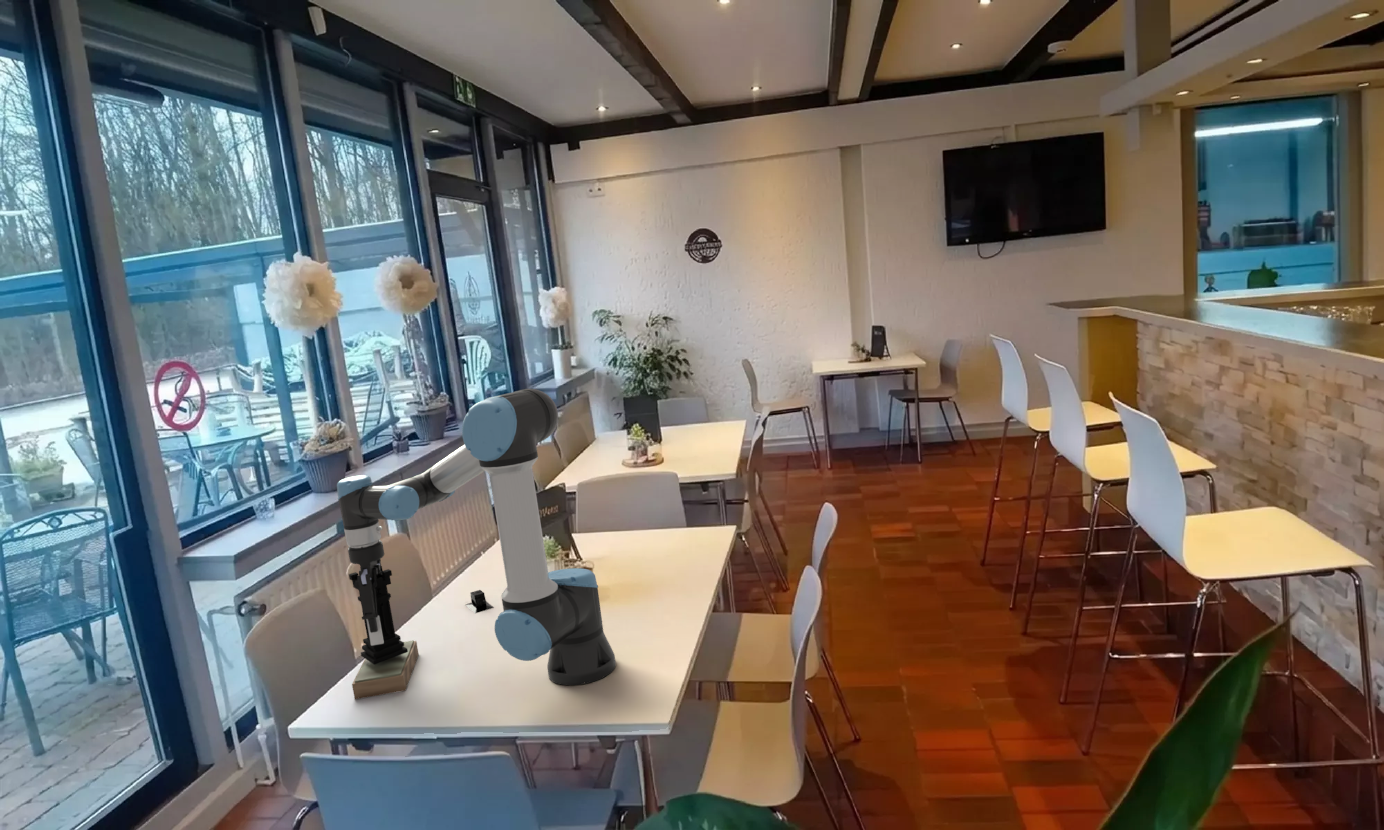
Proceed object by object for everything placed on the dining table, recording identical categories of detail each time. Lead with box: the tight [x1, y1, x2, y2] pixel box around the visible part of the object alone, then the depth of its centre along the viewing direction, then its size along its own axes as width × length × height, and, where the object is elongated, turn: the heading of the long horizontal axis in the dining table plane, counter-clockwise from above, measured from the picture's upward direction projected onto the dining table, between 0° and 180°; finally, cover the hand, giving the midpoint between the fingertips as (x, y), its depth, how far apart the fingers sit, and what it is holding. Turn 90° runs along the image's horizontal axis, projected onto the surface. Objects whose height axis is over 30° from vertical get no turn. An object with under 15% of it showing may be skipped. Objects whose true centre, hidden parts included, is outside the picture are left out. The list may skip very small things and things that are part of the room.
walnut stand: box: [351, 639, 419, 700], centre depth 201 cm, size 20×11×4 cm, turn 10°
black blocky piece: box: [464, 589, 495, 614], centre depth 241 cm, size 12×7×5 cm, turn 32°
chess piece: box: [348, 565, 408, 665], centre depth 199 cm, size 8×8×20 cm
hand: (381, 635), depth 200 cm, fingers closed on chess piece, 9 cm apart
